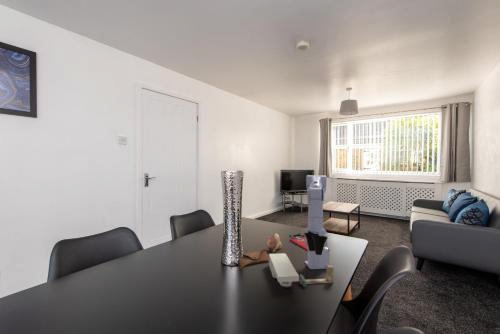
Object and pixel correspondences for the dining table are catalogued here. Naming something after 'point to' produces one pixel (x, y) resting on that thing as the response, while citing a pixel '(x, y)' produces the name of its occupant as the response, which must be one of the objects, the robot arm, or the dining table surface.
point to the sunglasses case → (253, 258)
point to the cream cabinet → (282, 268)
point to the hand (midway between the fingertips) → (315, 252)
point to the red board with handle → (299, 240)
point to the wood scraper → (314, 281)
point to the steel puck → (285, 284)
